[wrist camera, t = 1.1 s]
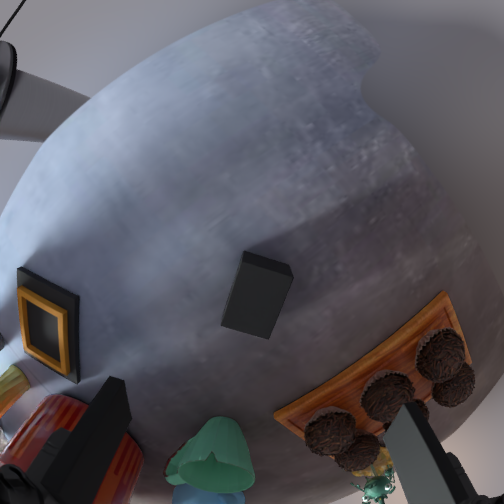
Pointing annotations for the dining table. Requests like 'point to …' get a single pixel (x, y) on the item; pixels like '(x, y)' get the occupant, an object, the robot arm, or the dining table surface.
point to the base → (49, 324)
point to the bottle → (1, 342)
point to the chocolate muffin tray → (385, 387)
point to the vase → (12, 388)
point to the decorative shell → (2, 440)
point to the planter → (67, 416)
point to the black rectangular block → (257, 295)
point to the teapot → (204, 496)
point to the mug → (213, 459)
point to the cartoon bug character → (377, 478)
